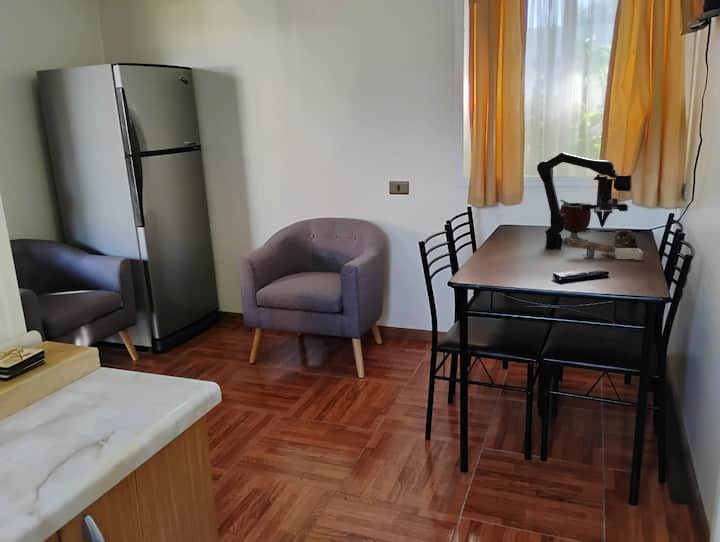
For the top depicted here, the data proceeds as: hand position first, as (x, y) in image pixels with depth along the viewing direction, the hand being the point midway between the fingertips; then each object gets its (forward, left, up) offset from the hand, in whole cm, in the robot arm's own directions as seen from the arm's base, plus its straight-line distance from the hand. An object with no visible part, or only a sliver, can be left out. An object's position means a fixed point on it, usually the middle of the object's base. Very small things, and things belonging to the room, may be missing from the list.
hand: (601, 226), depth 263 cm
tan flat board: (-6, -9, -7) cm, 13 cm away
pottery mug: (+13, +13, -11) cm, 21 cm away
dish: (+8, -14, -11) cm, 19 cm away
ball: (+11, -14, -9) cm, 19 cm away
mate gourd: (-8, +24, -11) cm, 28 cm away
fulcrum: (-6, -14, -11) cm, 18 cm away
